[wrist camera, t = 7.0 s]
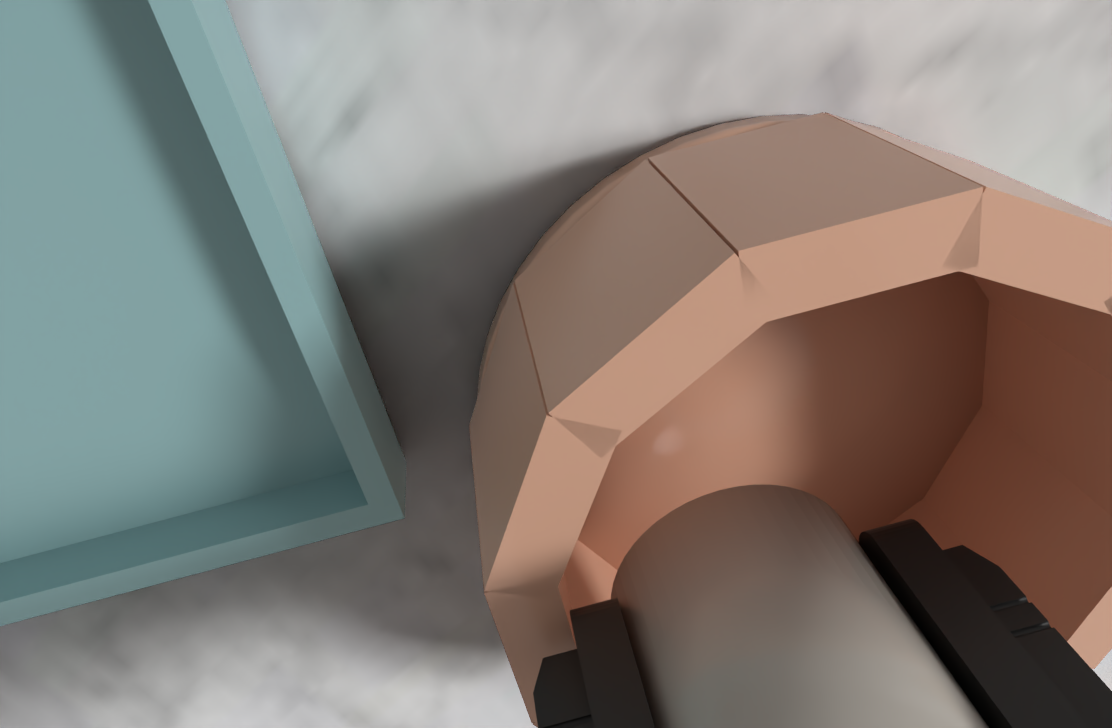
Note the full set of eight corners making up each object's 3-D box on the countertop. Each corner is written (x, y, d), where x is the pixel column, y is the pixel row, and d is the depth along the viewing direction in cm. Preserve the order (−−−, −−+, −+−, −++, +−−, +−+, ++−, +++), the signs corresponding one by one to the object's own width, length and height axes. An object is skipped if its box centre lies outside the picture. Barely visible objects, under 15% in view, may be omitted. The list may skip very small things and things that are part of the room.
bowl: (401, 206, 13) (391, 341, 9) (1031, 43, 13) (1319, 99, 9) (545, 644, 19) (583, 861, 14) (991, 523, 19) (1159, 700, 15)
